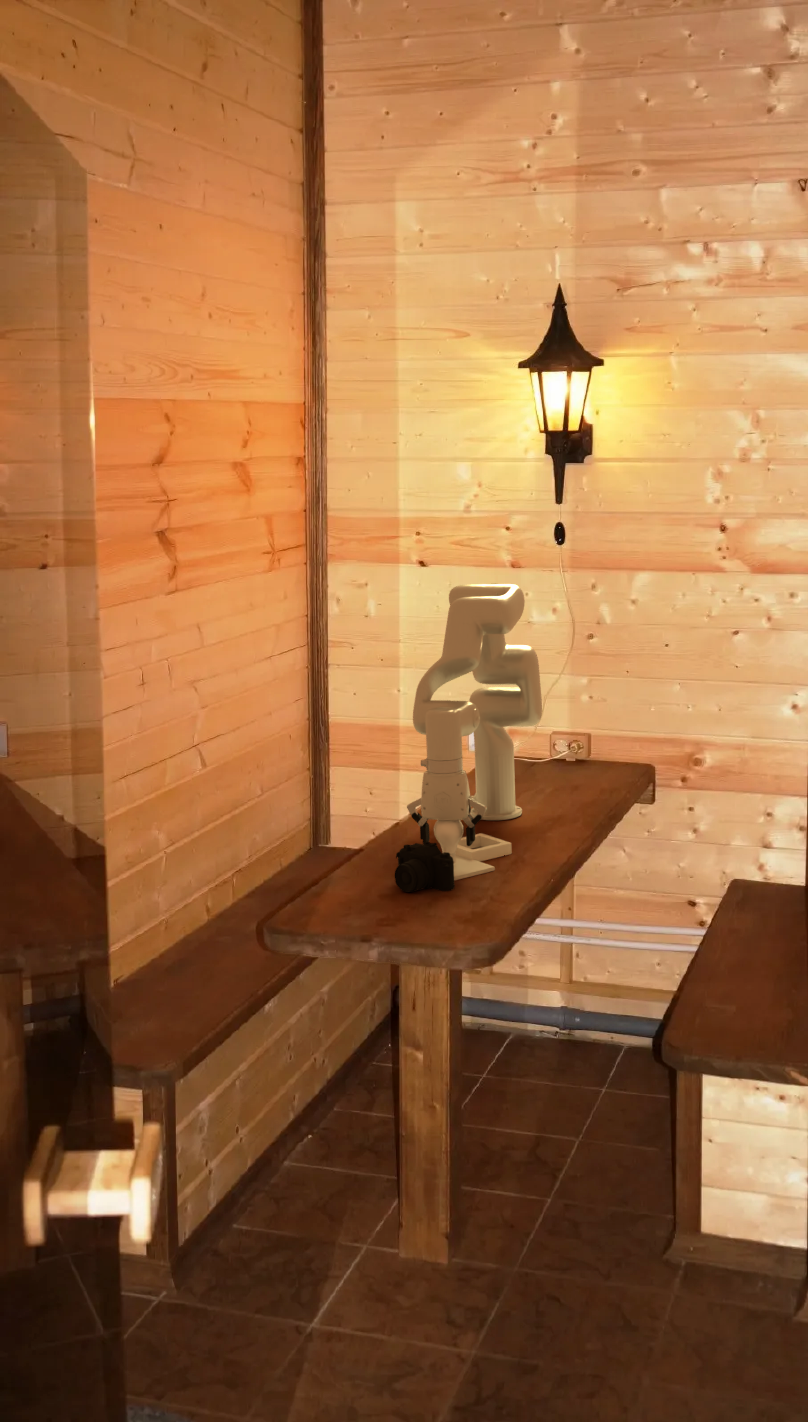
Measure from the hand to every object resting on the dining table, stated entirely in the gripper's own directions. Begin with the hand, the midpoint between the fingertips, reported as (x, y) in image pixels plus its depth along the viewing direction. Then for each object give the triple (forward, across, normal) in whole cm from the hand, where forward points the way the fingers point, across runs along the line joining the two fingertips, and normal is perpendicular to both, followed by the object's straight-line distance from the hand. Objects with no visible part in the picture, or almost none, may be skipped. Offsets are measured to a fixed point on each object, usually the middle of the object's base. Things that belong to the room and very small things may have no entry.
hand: (448, 843), depth 314 cm
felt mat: (+6, 0, 0) cm, 6 cm away
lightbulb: (+5, 0, 0) cm, 5 cm away
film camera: (+6, -3, -13) cm, 14 cm away
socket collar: (+6, +3, +13) cm, 15 cm away
